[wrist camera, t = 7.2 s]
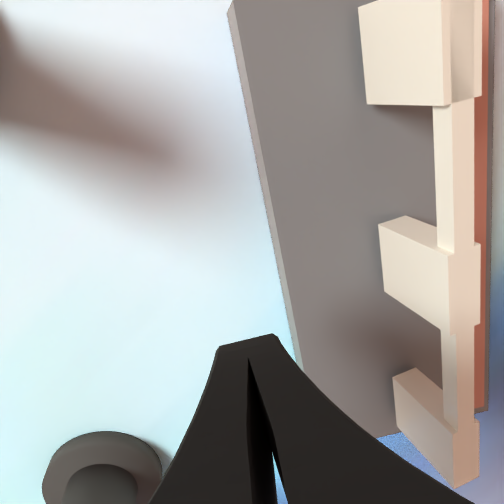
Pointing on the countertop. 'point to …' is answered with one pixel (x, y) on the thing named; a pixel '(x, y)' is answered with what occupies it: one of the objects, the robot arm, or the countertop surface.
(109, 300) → the countertop surface
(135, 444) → the post
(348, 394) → the panel
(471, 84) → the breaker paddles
